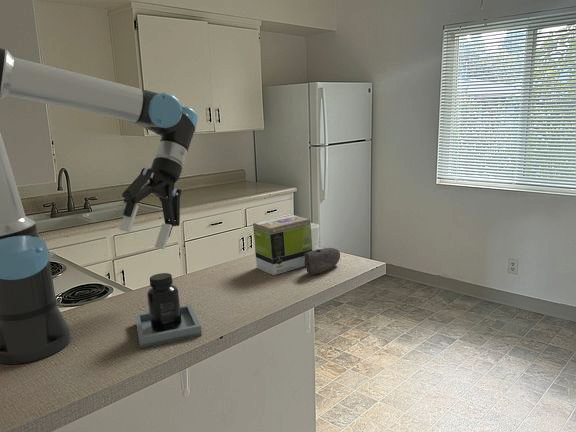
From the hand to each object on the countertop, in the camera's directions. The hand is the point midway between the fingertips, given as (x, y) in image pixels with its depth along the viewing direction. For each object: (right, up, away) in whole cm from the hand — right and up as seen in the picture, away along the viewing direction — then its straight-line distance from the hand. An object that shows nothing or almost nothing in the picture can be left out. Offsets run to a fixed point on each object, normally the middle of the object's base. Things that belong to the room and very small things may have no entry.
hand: (142, 239), depth 116 cm
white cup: (+42, -7, +40) cm, 59 cm away
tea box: (+35, -10, +30) cm, 47 cm away
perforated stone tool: (+46, -11, +25) cm, 54 cm away
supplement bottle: (+8, -19, -9) cm, 23 cm away
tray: (+8, -20, -9) cm, 23 cm away
